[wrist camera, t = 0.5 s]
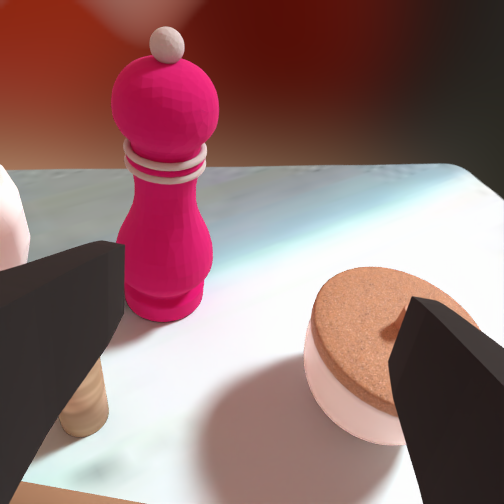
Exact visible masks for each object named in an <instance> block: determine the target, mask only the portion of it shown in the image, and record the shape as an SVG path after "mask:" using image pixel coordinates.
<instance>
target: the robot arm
mask: <svg viewBox="0 0 504 504" xmlns="http://www.w3.org/2000/svg"><path fill="white" fill-rule="evenodd" d="M124 278H125V245H124V244H119V243H113V242H108V241H102V240H101V241H96V242H91V243H88V244H84V245H81V246H78V247H75V248H72V249H69V250H66V251H63V252H60V253H57V254H53V255H50V256H47V257H44V258H41V259H38V260H35V261H32V262H29V263H26V264H22V265H19V266H16V267H12V268H9V269H6V270H2V271H0V504H9V503H10V501H11V499H12V497H13V495H14V493H15V491H16V490H17V488H18V486H19V484H20V482H21V480H22V478H23V476H24V474H25V473H26V471H27V469H28V467H29V465H30V464H31V462H32V460H33V458H34V456H35V455H36V453H37V451H38V449H39V447H40V446H41V444H42V442H43V440H44V439H45V437H46V435H47V433H48V432H49V430H50V429H51V427H52V426H53V424H54V422H55V421H56V419H57V418H58V416H59V415H60V413H61V412H62V410H63V409H64V408H65V406H66V405H67V403H68V402H69V400H70V399H71V398H72V396H73V395H74V393H75V392H76V390H77V389H78V388H79V386H80V385H81V383H82V382H83V381H84V379H85V378H86V376H87V375H88V373H89V372H90V371H91V369H92V368H93V366H94V365H95V363H96V362H97V360H98V359H99V357H100V356H101V355H102V353H103V352H104V350H105V349H106V347H107V346H108V344H109V342H110V340H111V338H112V336H113V334H114V332H115V330H116V328H117V326H118V324H119V322H120V320H121V318H122V316H123V314H124ZM388 368H389V376H390V383H391V389H392V396H393V400H394V404H395V407H396V411H397V414H398V418H399V421H400V425H401V428H402V432H403V435H404V438H405V442H406V445H407V448H408V452H409V455H410V458H411V462H412V465H413V468H414V472H415V475H416V478H417V482H418V485H419V489H420V493H421V497H422V501H423V504H504V348H503V347H502V346H500V345H499V344H498V343H496V342H495V341H494V340H492V339H491V338H489V337H488V336H487V335H486V334H484V333H483V332H482V331H480V330H479V329H478V328H476V327H475V326H474V325H472V324H471V323H470V322H468V321H467V320H465V319H464V318H463V317H461V316H460V315H459V314H457V313H456V312H454V311H453V310H452V309H450V308H449V307H447V306H446V305H444V304H442V303H440V302H439V301H437V300H432V299H426V298H420V297H415V296H412V297H411V299H410V302H409V305H408V308H407V310H406V313H405V316H404V319H403V321H402V324H401V327H400V329H399V332H398V335H397V338H396V340H395V343H394V346H393V349H392V351H391V354H390V357H389V360H388Z"/></svg>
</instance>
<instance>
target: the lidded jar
mask: <svg viewBox="0 0 504 504" xmlns="http://www.w3.org/2000/svg"><path fill="white" fill-rule="evenodd" d="M412 296H415V297H420V298H426V299H432V300H437V301H439V302H440V303H442V304H444V305H446V306H447V307H449V308H450V309H452V310H453V311H454V312H456V313H457V314H459V315H460V316H461V317H463V318H464V319H465V320H467V321H468V322H470V323H471V324H472V325H474V326H475V327H476V328H478V329H479V327H478V326H477V324H476V323H475V321H474V320H473V319H472V318H471V316H470V315H469V314H468V313H467V312H466V311H465V310H464V309H463V308H462V307H461V306H460V305H459V304H458V303H457V302H456V301H455V300H454V299H452V298H451V297H450V296H449V295H447V294H446V293H444V292H443V291H442V290H440V289H439V288H437V287H435V286H434V285H432V284H430V283H428V282H427V281H425V280H422V279H420V278H418V277H416V276H413V275H410V274H408V273H405V272H402V271H398V270H393V269H388V268H382V267H359V268H354V269H350V270H346V271H344V272H342V273H339V274H337V275H335V276H334V277H332V278H331V279H329V280H328V281H327V282H326V283H325V284H324V285H323V286H322V288H321V289H320V291H319V293H318V295H317V297H316V300H315V303H314V305H313V308H312V314H311V319H310V321H309V325H308V328H307V332H306V338H305V344H304V369H305V373H306V378H307V381H308V385H309V387H310V390H311V392H312V394H313V396H314V398H315V400H316V401H317V403H318V404H319V406H320V407H321V408H322V410H323V411H324V412H325V414H326V415H327V416H328V417H329V418H330V419H331V420H332V421H333V422H334V423H335V424H337V425H338V426H339V427H340V428H342V429H343V430H345V431H346V432H348V433H350V434H351V435H353V436H355V437H358V438H360V439H362V440H365V441H368V442H371V443H375V444H380V445H388V446H392V445H406V442H405V438H404V435H403V432H402V428H401V425H400V421H399V418H398V414H397V411H396V407H395V404H394V400H393V396H392V389H391V383H390V376H389V368H388V360H389V357H390V354H391V351H392V349H393V346H394V343H395V340H396V338H397V335H398V332H399V329H400V327H401V324H402V321H403V319H404V316H405V313H406V310H407V308H408V305H409V302H410V299H411V297H412ZM479 330H480V329H479ZM480 331H481V330H480Z"/></svg>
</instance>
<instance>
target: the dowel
mask: <svg viewBox="0 0 504 504" xmlns="http://www.w3.org/2000/svg"><path fill="white" fill-rule="evenodd" d="M108 414H109V408H108V402H107V396H106V390H105V384H104V378H103V372H102V367H101V361H100V357H99V359H98V360H97V362H96V363H95V365H94V366H93V368H92V369H91V371H90V372H89V373H88V375H87V376H86V378H85V379H84V381H83V382H82V383H81V385H80V386H79V388H78V389H77V390H76V392H75V393H74V395H73V396H72V398H71V399H70V400H69V402H68V403H67V405H66V406H65V408H64V409H63V410H62V412H61V413H60V415H59V419H60V422H61V425H62V428H63V429H64V431H65V432H66V433H67V434H69V435H71V436H74V437H86V436H89V435H92V434H94V433H95V432H97V431H98V430H99V429H101V428H102V426H103V425H104V424H105V422H106V420H107V418H108Z"/></svg>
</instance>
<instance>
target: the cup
mask: <svg viewBox="0 0 504 504" xmlns="http://www.w3.org/2000/svg"><path fill="white" fill-rule="evenodd" d="M29 244H30V234H29V230H28V226H27V222H26V218H25V214H24V210H23V207H22V203H21V199H20V196H19V192H18V189H17V187H16V186H15V184H14V183H13V181H12V180H11V178H10V177H9V175H8V174H7V172H6V171H5V169H4V168H3V166H1V165H0V271H2V270H6V269H9V268H12V267H16V266H19V265H22V264H26V262H27V257H28V251H29Z"/></svg>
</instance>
